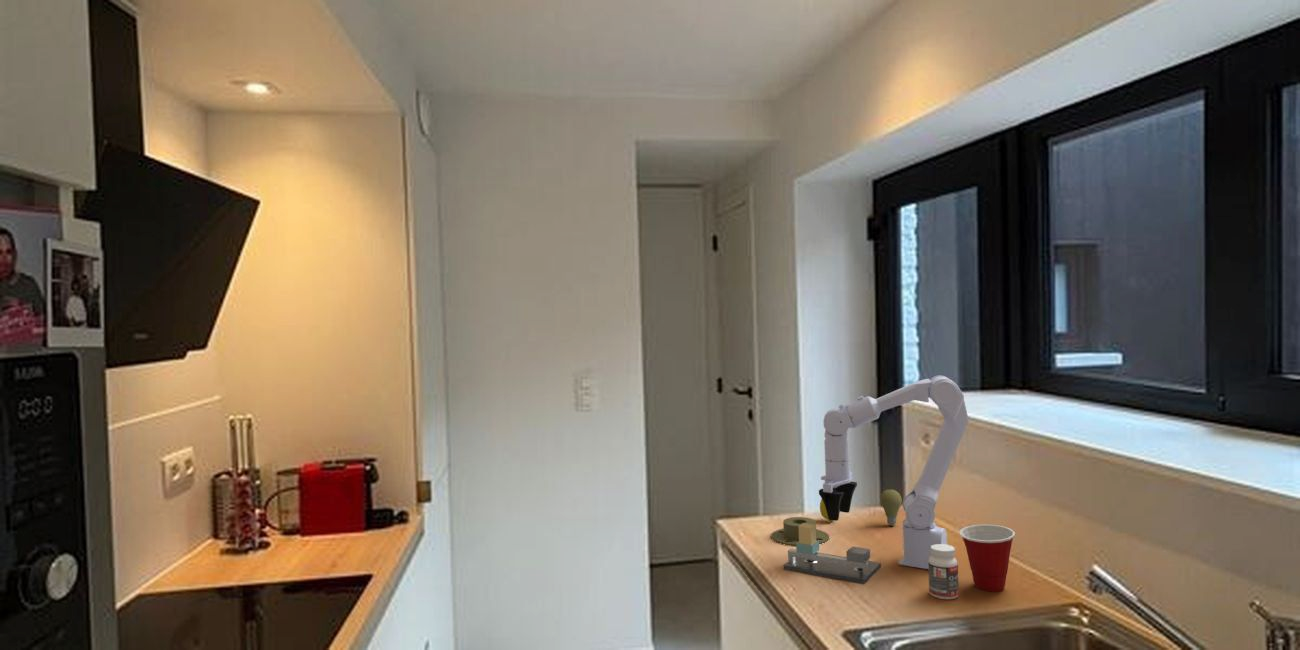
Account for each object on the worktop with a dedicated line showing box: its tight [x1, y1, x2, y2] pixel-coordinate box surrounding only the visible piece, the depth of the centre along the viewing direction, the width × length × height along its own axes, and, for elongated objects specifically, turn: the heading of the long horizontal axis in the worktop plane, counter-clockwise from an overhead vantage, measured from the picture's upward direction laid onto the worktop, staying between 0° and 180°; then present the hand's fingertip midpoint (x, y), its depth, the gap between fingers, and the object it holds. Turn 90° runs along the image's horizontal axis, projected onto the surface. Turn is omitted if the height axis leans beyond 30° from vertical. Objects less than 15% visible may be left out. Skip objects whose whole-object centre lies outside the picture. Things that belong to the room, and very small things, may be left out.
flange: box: [770, 516, 830, 547], centre depth 192 cm, size 5×15×15 cm
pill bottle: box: [928, 544, 960, 600], centre depth 150 cm, size 6×6×10 cm
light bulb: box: [879, 488, 903, 527], centre depth 199 cm, size 6×6×10 cm
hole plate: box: [783, 551, 882, 585], centre depth 168 cm, size 19×12×1 cm, turn 56°
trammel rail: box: [787, 546, 871, 575], centre depth 166 cm, size 19×4×5 cm, turn 56°
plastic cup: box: [959, 524, 1016, 592], centre depth 154 cm, size 11×11×12 cm
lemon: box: [819, 499, 841, 523], centre depth 205 cm, size 6×6×8 cm
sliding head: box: [795, 523, 820, 561], centre depth 169 cm, size 4×4×9 cm
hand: (839, 515), depth 174 cm, fingers open, 7 cm apart
